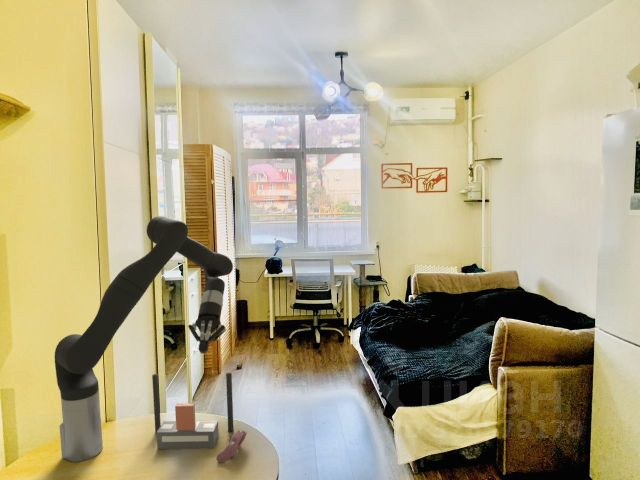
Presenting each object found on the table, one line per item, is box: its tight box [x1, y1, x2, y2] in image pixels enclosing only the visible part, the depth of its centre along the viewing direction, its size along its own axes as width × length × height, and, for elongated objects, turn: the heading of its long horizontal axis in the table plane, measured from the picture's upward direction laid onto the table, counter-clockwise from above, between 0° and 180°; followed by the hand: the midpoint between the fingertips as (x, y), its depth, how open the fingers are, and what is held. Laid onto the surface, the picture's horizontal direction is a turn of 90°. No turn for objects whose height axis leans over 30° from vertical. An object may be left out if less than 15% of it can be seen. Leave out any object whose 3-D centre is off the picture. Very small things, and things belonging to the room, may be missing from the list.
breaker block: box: [155, 420, 220, 450], centre depth 126 cm, size 16×6×5 cm, turn 90°
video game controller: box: [216, 429, 248, 463], centre depth 121 cm, size 10×5×7 cm, turn 169°
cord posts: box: [151, 372, 235, 434], centre depth 132 cm, size 24×2×18 cm, turn 90°
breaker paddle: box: [174, 402, 196, 430], centre depth 124 cm, size 5×2×7 cm, turn 90°
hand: (202, 352), depth 144 cm, fingers closed
